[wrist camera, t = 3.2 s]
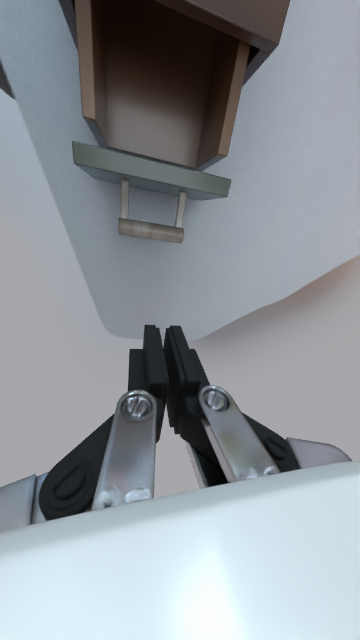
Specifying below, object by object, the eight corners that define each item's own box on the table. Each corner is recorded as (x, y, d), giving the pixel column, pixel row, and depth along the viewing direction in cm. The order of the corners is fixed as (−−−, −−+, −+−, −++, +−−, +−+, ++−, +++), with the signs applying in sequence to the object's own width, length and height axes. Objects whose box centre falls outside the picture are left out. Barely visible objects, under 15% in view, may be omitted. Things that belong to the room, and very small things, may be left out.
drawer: (194, 240, 24) (214, 251, 17) (96, 226, 21) (79, 233, 15) (236, 4, 15) (305, -136, 9) (80, -74, 12) (25, -358, 6)
